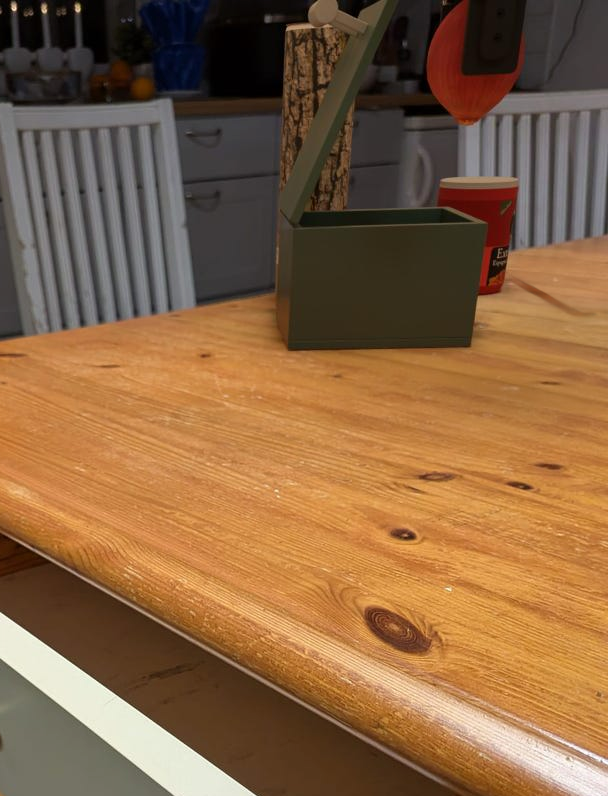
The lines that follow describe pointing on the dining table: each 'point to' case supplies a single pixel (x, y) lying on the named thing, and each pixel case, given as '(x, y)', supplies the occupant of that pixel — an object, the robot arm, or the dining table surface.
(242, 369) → the dining table surface
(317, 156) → the bin lid
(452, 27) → the onion
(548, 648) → the dining table surface
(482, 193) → the canned food
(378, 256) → the bin
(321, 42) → the bark log
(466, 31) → the robot arm
